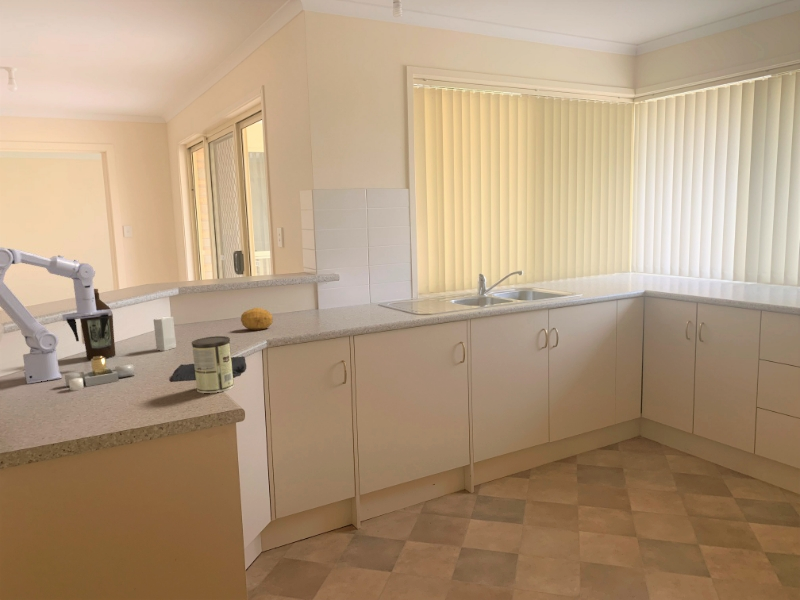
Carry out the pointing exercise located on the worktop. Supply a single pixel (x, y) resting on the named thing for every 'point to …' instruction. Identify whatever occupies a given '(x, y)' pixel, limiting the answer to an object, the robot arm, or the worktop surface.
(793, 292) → the worktop surface
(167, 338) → the skincare box
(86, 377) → the fitting socket
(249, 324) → the potato
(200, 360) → the coffee can
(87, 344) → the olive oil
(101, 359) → the gold metal cylinder
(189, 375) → the dark slate chunk
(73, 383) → the pipe cap
